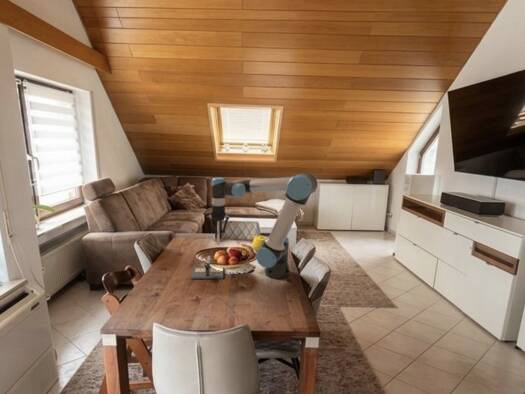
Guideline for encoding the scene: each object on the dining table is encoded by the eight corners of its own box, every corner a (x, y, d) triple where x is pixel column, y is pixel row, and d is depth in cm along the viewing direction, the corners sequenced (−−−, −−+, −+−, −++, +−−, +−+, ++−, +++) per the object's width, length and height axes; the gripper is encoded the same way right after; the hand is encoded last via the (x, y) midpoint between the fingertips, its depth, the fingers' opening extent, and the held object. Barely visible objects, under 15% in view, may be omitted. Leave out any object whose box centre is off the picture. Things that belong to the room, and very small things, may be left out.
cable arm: (211, 259, 186) (211, 255, 186) (209, 268, 173) (209, 265, 172) (206, 259, 186) (206, 256, 185) (204, 268, 173) (204, 265, 172)
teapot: (275, 252, 216) (276, 237, 214) (263, 256, 209) (264, 241, 207) (259, 245, 229) (259, 231, 227) (247, 248, 222) (247, 234, 220)
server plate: (224, 268, 188) (224, 259, 187) (223, 278, 174) (222, 269, 173) (194, 268, 186) (194, 260, 185) (190, 278, 173) (190, 269, 172)
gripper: (230, 203, 180) (229, 241, 185) (207, 203, 179) (207, 241, 184) (229, 206, 173) (229, 246, 177) (206, 206, 172) (206, 246, 176)
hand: (218, 243), depth 180 cm, fingers closed
